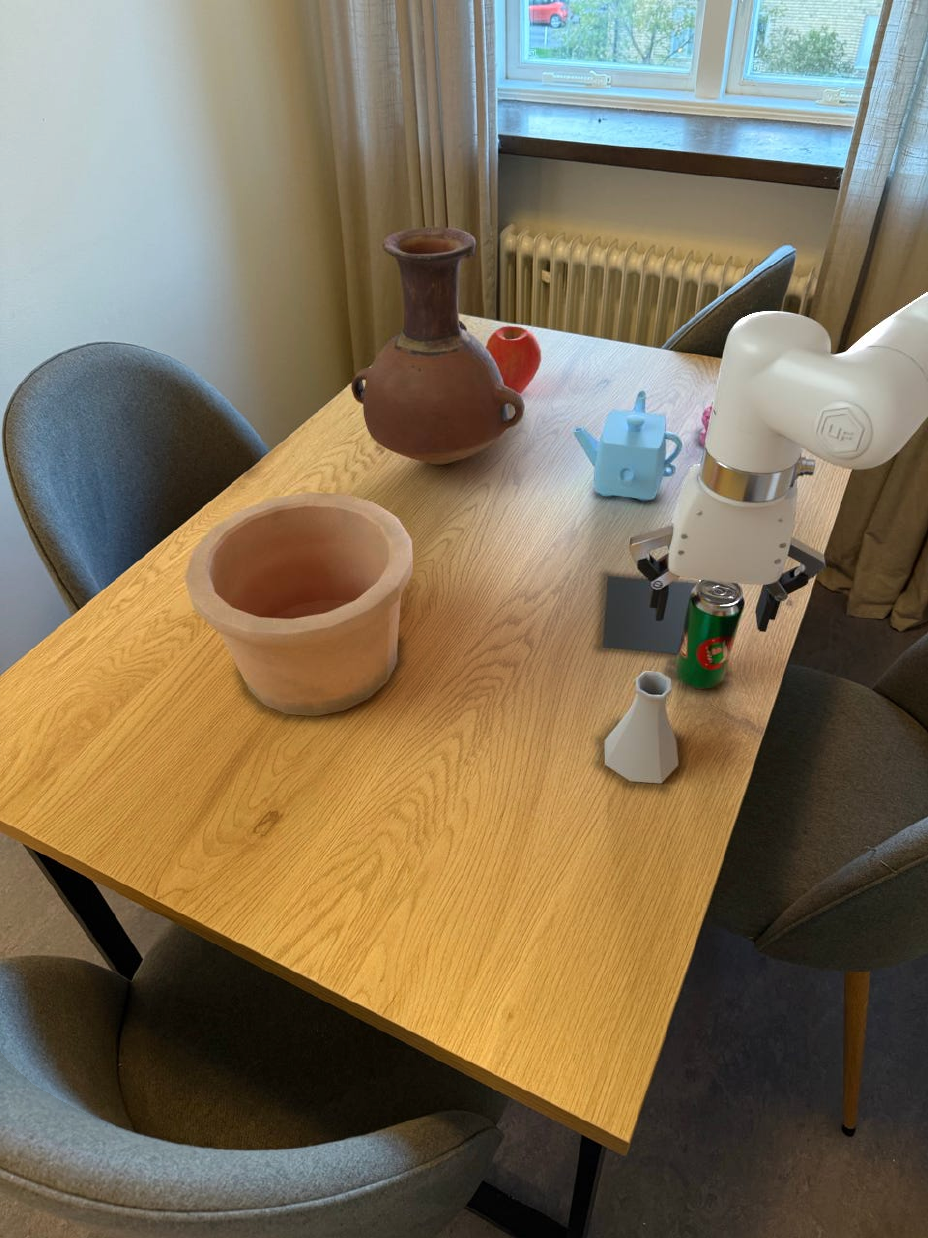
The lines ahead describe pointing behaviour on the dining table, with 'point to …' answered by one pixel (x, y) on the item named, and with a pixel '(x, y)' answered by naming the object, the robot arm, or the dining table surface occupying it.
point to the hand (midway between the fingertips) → (709, 616)
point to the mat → (643, 616)
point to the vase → (434, 361)
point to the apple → (515, 356)
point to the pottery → (306, 597)
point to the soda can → (709, 633)
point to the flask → (644, 734)
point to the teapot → (630, 452)
